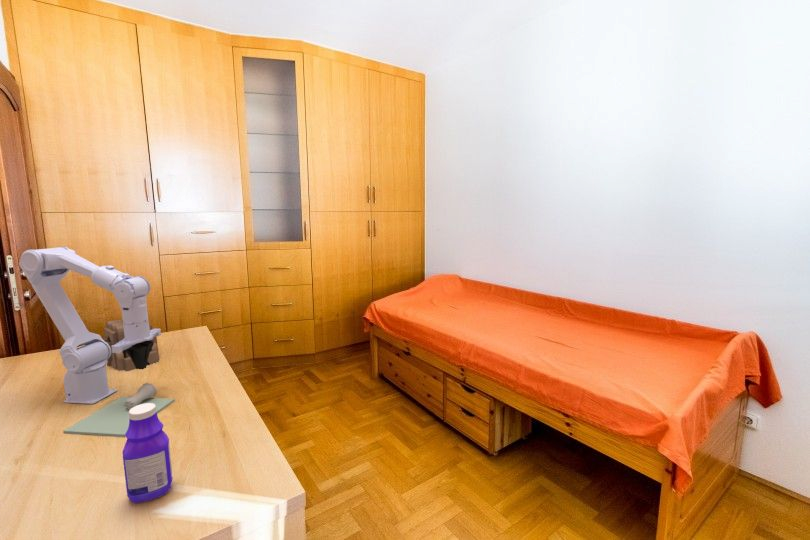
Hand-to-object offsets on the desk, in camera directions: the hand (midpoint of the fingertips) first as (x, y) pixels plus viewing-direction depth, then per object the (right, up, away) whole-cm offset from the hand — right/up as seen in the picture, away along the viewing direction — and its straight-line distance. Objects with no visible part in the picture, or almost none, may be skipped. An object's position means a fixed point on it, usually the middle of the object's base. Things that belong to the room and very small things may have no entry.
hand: (141, 368), depth 105 cm
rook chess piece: (+1, -6, +2) cm, 7 cm away
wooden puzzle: (-25, -5, +31) cm, 40 cm away
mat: (0, -11, -7) cm, 13 cm away
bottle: (+26, -15, -33) cm, 45 cm away
